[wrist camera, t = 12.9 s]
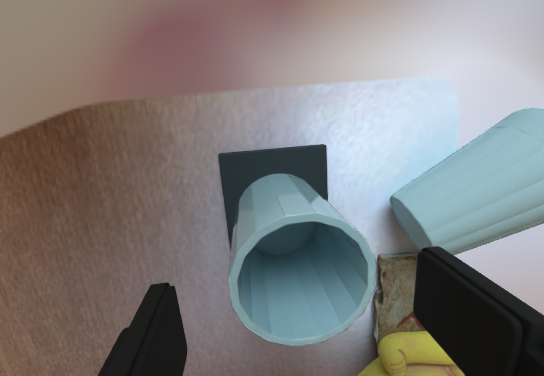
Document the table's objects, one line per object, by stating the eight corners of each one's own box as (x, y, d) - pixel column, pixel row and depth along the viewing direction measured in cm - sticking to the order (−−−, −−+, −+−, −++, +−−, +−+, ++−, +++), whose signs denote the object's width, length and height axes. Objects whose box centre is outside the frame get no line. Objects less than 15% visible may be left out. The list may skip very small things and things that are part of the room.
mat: (219, 153, 20) (218, 154, 19) (323, 144, 21) (326, 145, 20) (234, 271, 23) (234, 277, 22) (326, 260, 23) (329, 265, 22)
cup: (423, 266, 23) (544, 207, 22) (467, 289, 16) (655, 201, 14) (375, 190, 25) (484, 130, 23) (393, 178, 17) (557, 88, 16)
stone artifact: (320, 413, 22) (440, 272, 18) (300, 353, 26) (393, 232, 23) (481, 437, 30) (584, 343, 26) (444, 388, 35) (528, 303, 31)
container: (230, 178, 20) (219, 223, 11) (320, 169, 20) (377, 205, 12) (240, 260, 22) (237, 355, 13) (323, 250, 22) (374, 335, 13)
